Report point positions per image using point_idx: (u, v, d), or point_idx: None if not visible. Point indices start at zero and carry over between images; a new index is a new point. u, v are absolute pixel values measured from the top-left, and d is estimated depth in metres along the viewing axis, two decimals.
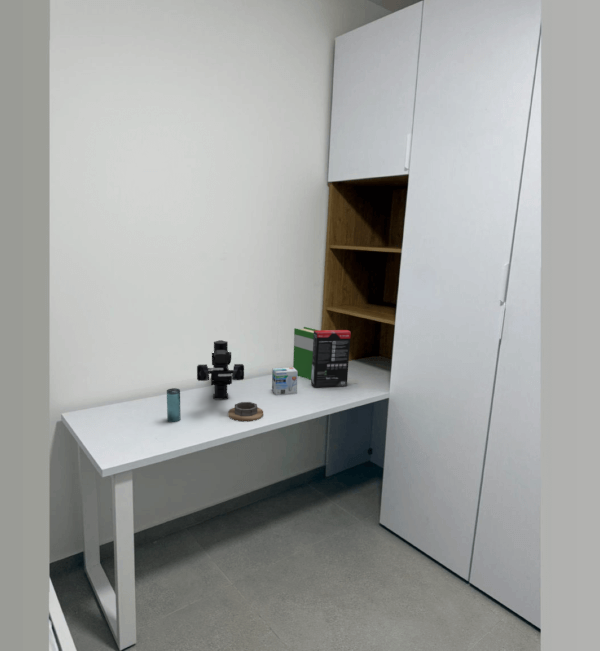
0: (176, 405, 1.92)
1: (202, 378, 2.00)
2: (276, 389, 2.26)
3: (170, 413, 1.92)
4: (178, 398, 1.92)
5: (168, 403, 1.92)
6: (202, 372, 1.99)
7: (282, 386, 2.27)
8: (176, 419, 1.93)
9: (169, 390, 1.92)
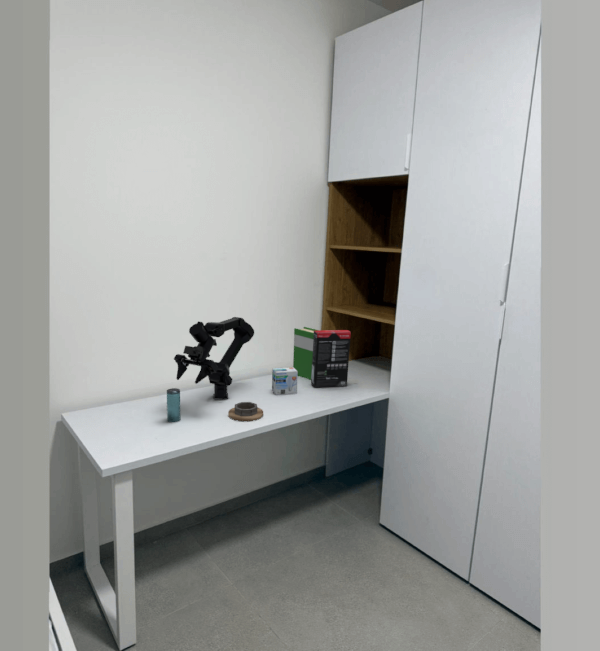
0: (176, 405, 1.92)
1: None
2: (276, 389, 2.26)
3: (170, 413, 1.92)
4: (178, 398, 1.92)
5: (168, 403, 1.92)
6: None
7: (282, 386, 2.27)
8: (176, 419, 1.93)
9: (169, 390, 1.92)
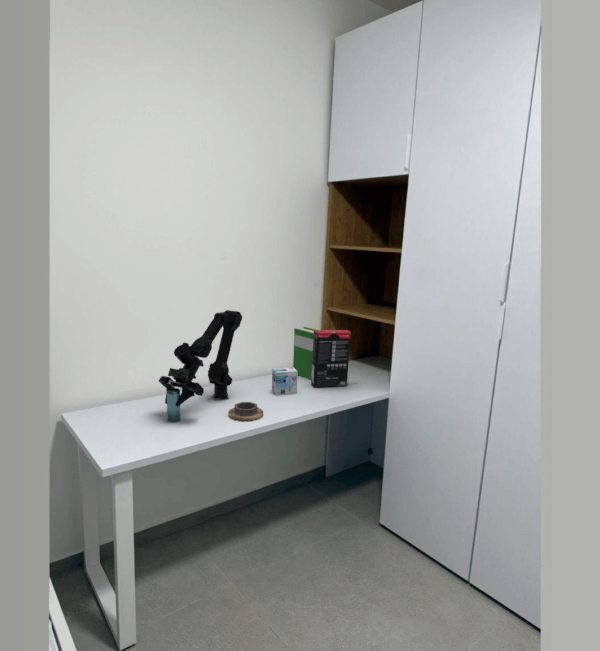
0: None
1: None
2: (276, 389, 2.26)
3: (170, 413, 1.92)
4: (178, 398, 1.92)
5: (168, 403, 1.92)
6: None
7: (282, 386, 2.27)
8: (176, 419, 1.93)
9: (169, 390, 1.92)
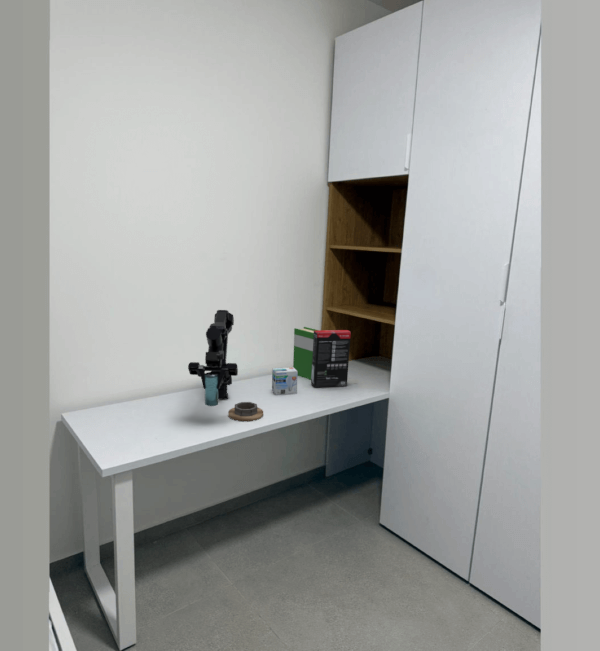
0: (217, 387, 1.92)
1: (199, 375, 1.96)
2: (276, 389, 2.26)
3: (212, 396, 1.91)
4: None
5: (209, 387, 1.90)
6: (199, 372, 1.94)
7: (282, 386, 2.27)
8: (217, 402, 1.93)
9: (208, 374, 1.90)
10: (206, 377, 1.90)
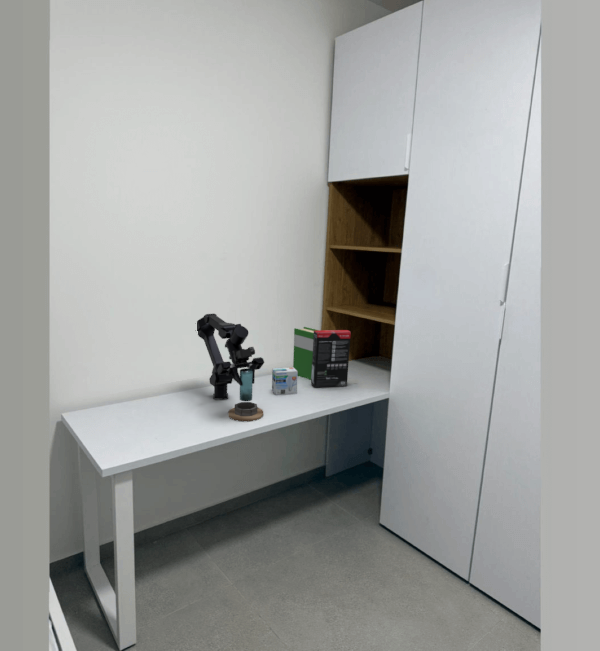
0: None
1: (229, 374, 2.00)
2: (276, 389, 2.26)
3: (250, 391, 1.99)
4: None
5: (247, 383, 1.97)
6: (231, 371, 1.98)
7: (282, 386, 2.27)
8: None
9: (244, 371, 1.97)
10: (244, 374, 1.96)
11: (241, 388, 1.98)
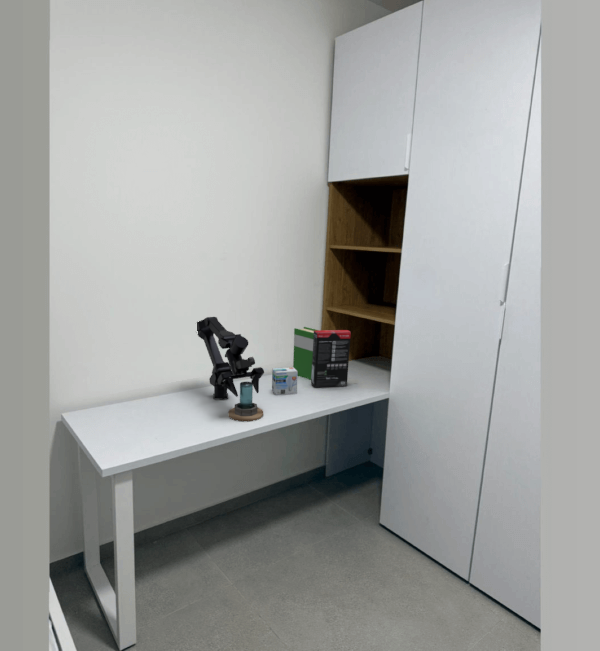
0: None
1: (224, 385, 2.00)
2: (276, 389, 2.26)
3: (249, 404, 2.00)
4: None
5: (248, 396, 1.98)
6: (226, 382, 1.98)
7: (282, 386, 2.27)
8: None
9: (244, 384, 1.98)
10: (244, 387, 1.97)
11: (241, 401, 1.99)
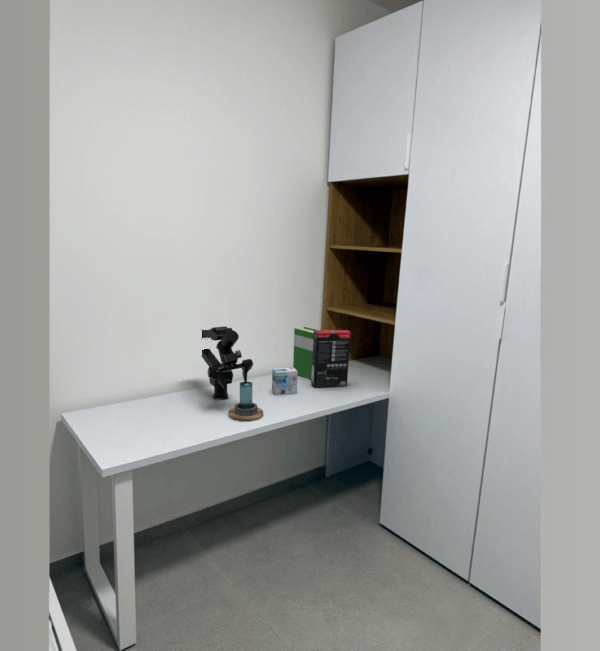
0: None
1: (214, 377, 2.08)
2: (276, 389, 2.26)
3: (249, 404, 2.00)
4: None
5: (247, 396, 1.98)
6: (214, 375, 2.06)
7: (282, 386, 2.27)
8: None
9: (244, 384, 1.98)
10: (244, 387, 1.98)
11: (241, 401, 1.99)
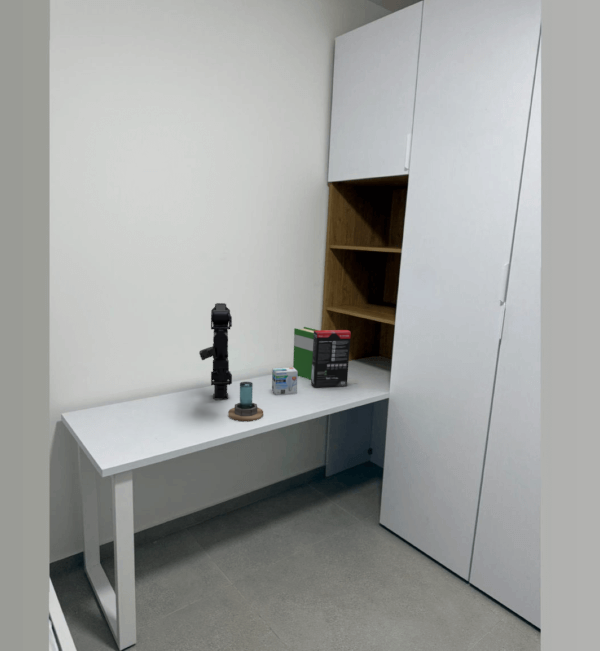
0: None
1: None
2: (276, 389, 2.26)
3: (249, 404, 2.00)
4: None
5: (247, 396, 1.98)
6: None
7: (282, 386, 2.27)
8: None
9: (244, 384, 1.98)
10: (244, 387, 1.98)
11: (241, 401, 1.99)
